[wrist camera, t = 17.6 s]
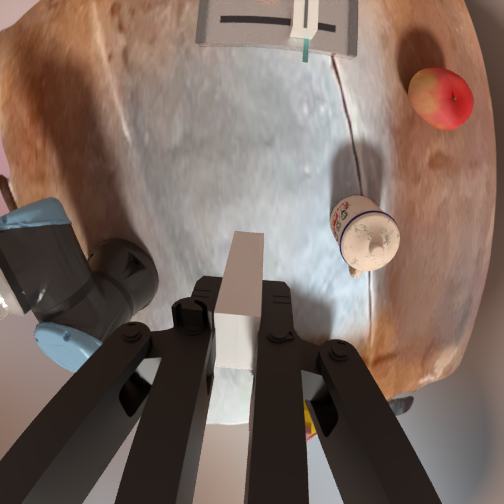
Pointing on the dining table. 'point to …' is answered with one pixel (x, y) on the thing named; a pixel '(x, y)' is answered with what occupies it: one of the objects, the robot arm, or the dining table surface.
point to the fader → (304, 18)
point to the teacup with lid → (364, 234)
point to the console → (278, 26)
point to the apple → (440, 98)
